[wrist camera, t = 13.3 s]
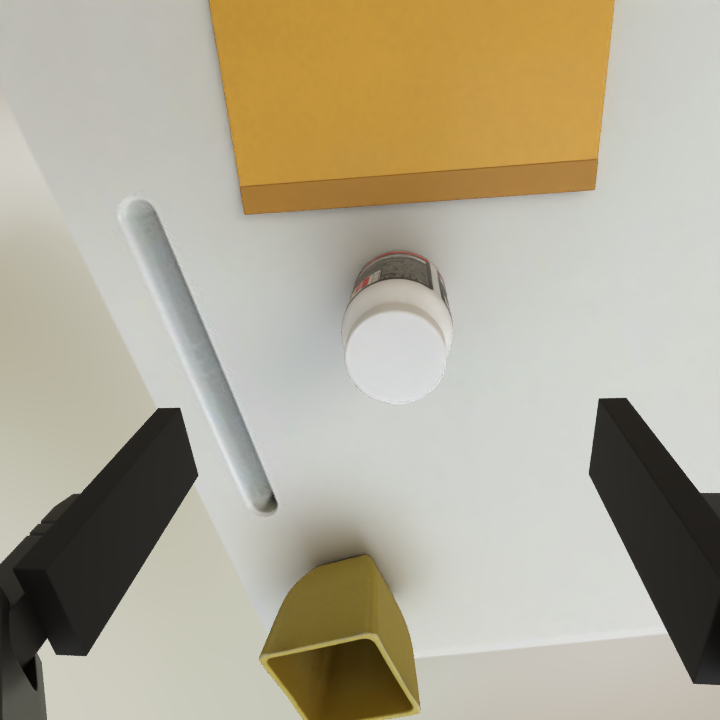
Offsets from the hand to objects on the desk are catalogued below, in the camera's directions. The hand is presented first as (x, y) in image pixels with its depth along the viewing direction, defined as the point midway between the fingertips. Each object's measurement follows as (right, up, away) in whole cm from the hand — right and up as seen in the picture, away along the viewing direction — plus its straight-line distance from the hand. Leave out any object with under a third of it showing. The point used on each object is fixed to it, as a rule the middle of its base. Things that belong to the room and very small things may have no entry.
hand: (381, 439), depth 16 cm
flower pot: (-1, -16, +27) cm, 31 cm away
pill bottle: (+2, +7, +16) cm, 17 cm away
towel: (+2, +19, +10) cm, 21 cm away
